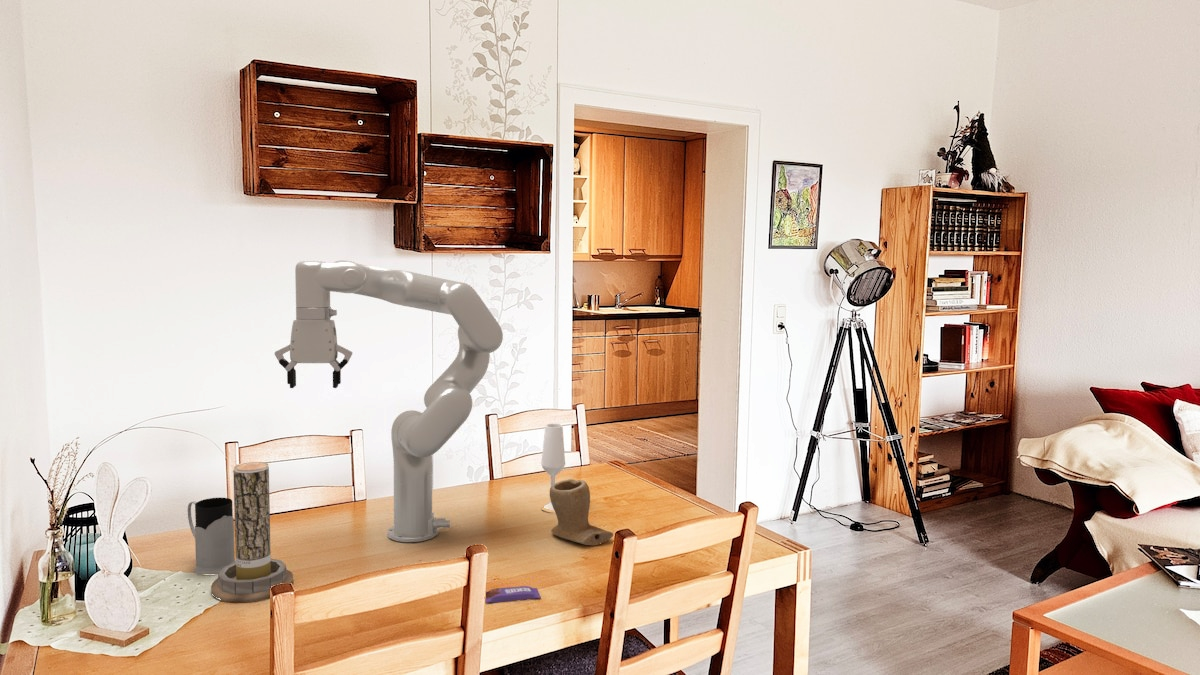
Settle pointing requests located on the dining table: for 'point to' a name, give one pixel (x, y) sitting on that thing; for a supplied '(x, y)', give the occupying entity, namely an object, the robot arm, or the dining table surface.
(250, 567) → the paper tube
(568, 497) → the clay pipe bowl
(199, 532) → the glass holder
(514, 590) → the snack package
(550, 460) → the champagne flute
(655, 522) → the dining table surface
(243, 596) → the roll stand
